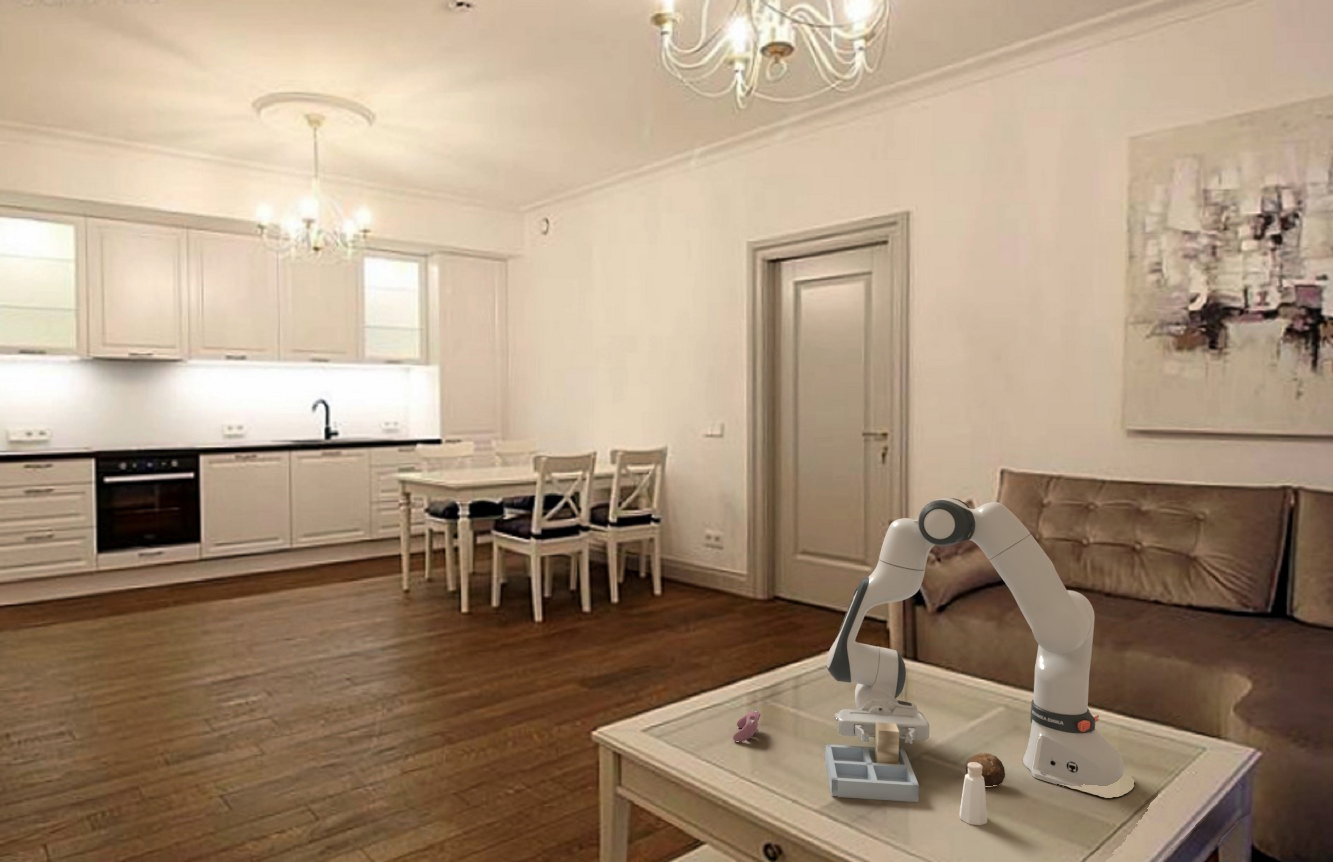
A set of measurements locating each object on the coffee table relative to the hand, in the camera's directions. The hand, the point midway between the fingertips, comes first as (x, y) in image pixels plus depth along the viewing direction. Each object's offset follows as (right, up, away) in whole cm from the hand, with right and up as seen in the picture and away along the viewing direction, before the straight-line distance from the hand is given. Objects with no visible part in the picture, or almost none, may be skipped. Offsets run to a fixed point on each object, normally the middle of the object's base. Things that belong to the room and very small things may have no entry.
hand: (887, 739), depth 188 cm
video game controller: (-29, -6, +20) cm, 36 cm away
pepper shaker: (+12, -9, -18) cm, 24 cm away
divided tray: (-5, -8, -2) cm, 9 cm away
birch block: (0, -7, +1) cm, 7 cm away
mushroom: (+20, -9, -3) cm, 22 cm away
